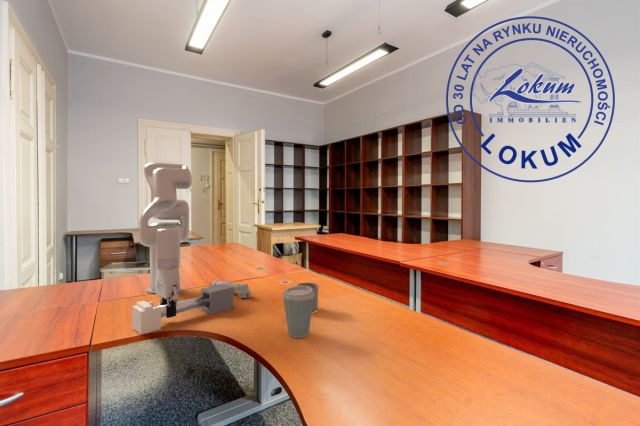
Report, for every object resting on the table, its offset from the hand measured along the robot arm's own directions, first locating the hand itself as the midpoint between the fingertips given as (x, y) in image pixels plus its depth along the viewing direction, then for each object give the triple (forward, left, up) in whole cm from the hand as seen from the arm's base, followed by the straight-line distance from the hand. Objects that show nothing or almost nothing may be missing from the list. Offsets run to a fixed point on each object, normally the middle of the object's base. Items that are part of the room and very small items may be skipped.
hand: (168, 314), depth 110 cm
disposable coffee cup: (+39, +25, -3) cm, 47 cm away
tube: (0, +4, 0) cm, 5 cm away
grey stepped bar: (-14, +34, -3) cm, 37 cm away
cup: (+26, +43, -3) cm, 50 cm away
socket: (0, -6, -3) cm, 7 cm away
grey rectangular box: (0, +19, -3) cm, 19 cm away
